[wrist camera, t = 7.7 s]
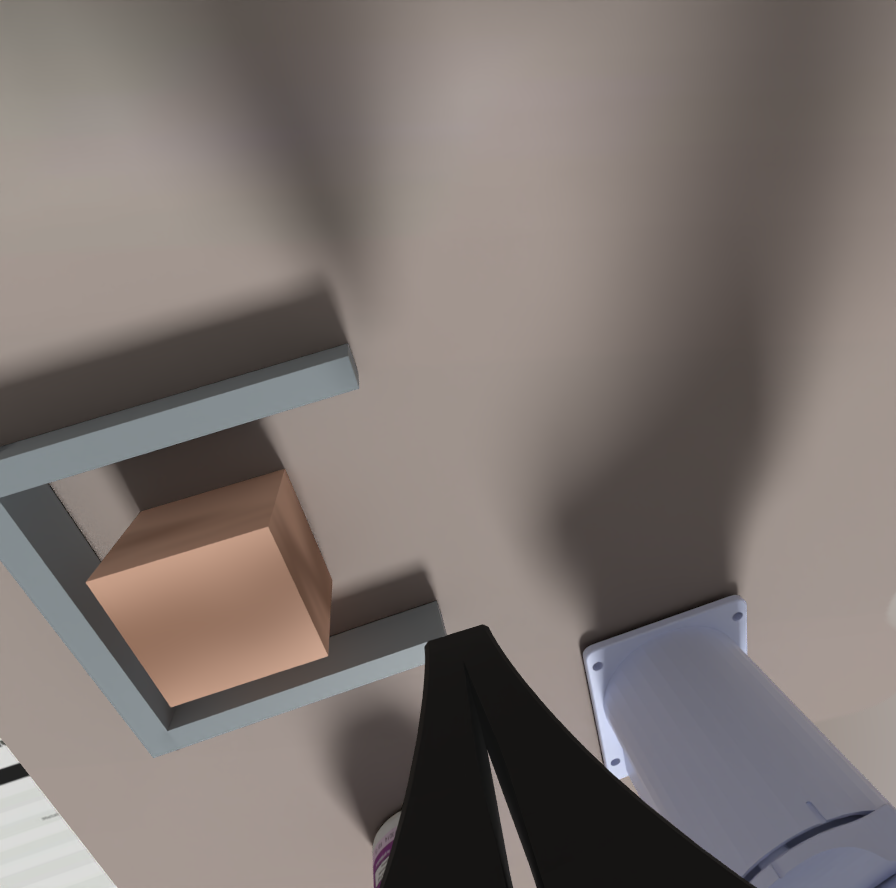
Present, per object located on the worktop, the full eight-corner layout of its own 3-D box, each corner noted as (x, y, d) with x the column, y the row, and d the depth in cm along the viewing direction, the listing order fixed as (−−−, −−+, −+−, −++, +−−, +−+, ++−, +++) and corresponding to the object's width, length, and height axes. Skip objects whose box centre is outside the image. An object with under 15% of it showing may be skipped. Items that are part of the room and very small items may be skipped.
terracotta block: (332, 578, 19) (328, 656, 16) (204, 618, 19) (170, 707, 15) (285, 467, 17) (268, 526, 14) (142, 509, 17) (85, 582, 13)
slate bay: (442, 618, 21) (451, 654, 19) (171, 711, 20) (153, 757, 18) (348, 343, 16) (347, 355, 14) (-14, 450, 15) (-63, 478, 13)
